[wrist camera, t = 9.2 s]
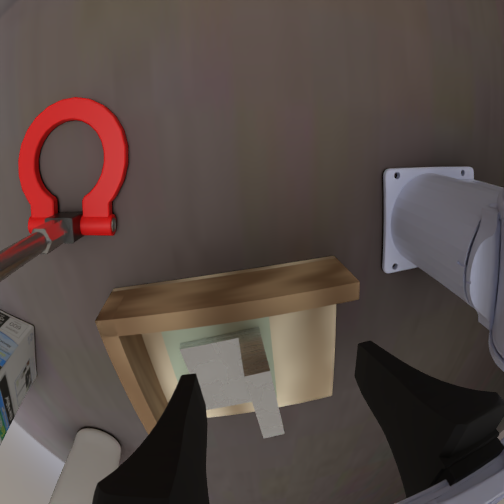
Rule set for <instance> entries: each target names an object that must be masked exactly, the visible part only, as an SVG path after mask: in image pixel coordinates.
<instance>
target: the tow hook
mask: <svg viewBox="0 0 504 504" xmlns="http://www.w3.org/2000/svg"><path fill="white" fill-rule="evenodd" d="M73 120H78V121H83V122H85V123H87V124H89V125H90V126H91V127H92V128H93V129H94V130H95V131H96V132H97V134H98V136H99V137H100V139H101V142H102V146H103V150H104V165H103V169H102V174H101V176H100V178H99V180H98V182H97V184H96V185H95V187H94V188H93V189H92V190H91V192H90V193H88V194H87V195H86V196H84V198H83V200H82V208H83V212H76V213H58V205H57V199H56V197H55V196H53V195H52V194H51V193H50V192H49V191H48V190H47V189H46V188H45V186H44V184H43V182H42V180H41V177H40V173H39V155H40V150H41V147H42V145H43V143H44V141H45V139H46V138H47V136H48V135H49V134H50V132H51V131H52V130H54V129H55V128H56V127H57V126H58V125H61V124H63V123H65V122H67V121H73ZM18 163H19V178H20V182H21V186H22V190H23V192H24V194H25V196H26V198H27V200H28V202H29V204H30V205H31V216H30V218H29V221H28V230H29V232H30V234H31V235H29V236H27V237H25V238H23V239H21V240H20V241H18V242H16V243H14V244H12V245H10V246H9V247H7V248H5V249H3V250H2V251H0V282H1V281H2V280H4V279H5V278H6V277H8V276H9V275H11V274H12V273H13V272H15V271H16V270H18V269H19V268H20V267H22V266H23V265H25V264H26V263H28V262H29V261H30V260H32V259H33V258H35V257H36V256H38V255H39V254H48V253H50V252H51V251H53V250H54V249H56V248H57V247H59V246H60V245H61V244H63V243H74V242H75V241H77V240H78V239H80V238H81V237H83V236H84V235H108V236H113V235H114V234H115V232H116V217H115V215H114V214H112V201H113V200H114V199H115V197H116V196H117V195H118V193H119V191H120V188H121V186H122V184H123V182H124V180H125V176H126V171H127V167H128V143H127V139H126V135H125V131H124V129H123V127H122V126H121V124H120V122H119V120H118V118H117V117H116V116H115V115H114V114H113V113H112V112H111V111H110V110H109V109H108V108H107V107H106V106H104V105H102V104H100V103H97V102H95V101H93V100H91V99H86V98H78V97H74V98H69V99H63V100H60V101H58V102H56V103H54V104H52V105H50V106H48V107H47V108H46V109H45V110H44V111H43V112H41V113H40V114H39V115H38V116H37V117H36V118H35V120H34V121H33V123H32V124H31V125H30V127H29V128H28V130H27V132H26V134H25V137H24V139H23V142H22V144H21V149H20V154H19V160H18Z"/></svg>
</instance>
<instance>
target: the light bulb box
mask: <svg viewBox="0 0 504 504" xmlns="http://www.w3.org/2000/svg"><path fill="white" fill-rule="evenodd" d="M36 377H37V372H36V360H35V342H34V326H32V325H30V324H28V323H26V322H24V321H22V320H19V319H17V318H15V317H13V316H11V315H9V314H7V313H5V312H3V311H1V310H0V445H1V442H2V440H3V438H4V436H5V434H6V432H7V430H8V428H9V426H10V424H11V422H12V420H13V419H14V417H15V415H16V413H17V411H18V409H19V407H20V405H21V403H22V401H23V399H24V398H25V396H26V394H27V392H28V390H29V389H30V387H31V385H32V384H33V382H34V380H35V378H36Z"/></svg>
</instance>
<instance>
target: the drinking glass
mask: <svg viewBox="0 0 504 504" xmlns="http://www.w3.org/2000/svg"><path fill="white" fill-rule="evenodd" d="M120 456H121V447H120V444H119V443H118V441H117V440H116V439H115V438H114V437H112V436H111V435H109V434H107V433H106V432H103V431H101V430H97V429H93V428H85V429H81V430H80V431H78V432H77V434H76V436H75V439H74V442H73V445H72V448H71V450H70V453H69V455H68V457H67V460H66V462H65V465H64V467H63V469H62V472H61V474H60V477H59V479H58V481H57V484H56V486H55V489H54V491H53V494H52V497H51V499H50V502H49V504H92V501H93V496H94V491H95V489H96V486H97V483H98V482H99V481H101V480H102V479H104V478H105V477H106V476H108V475H109V474H111V473H112V472H113V471H115V470H116V469H117V468H118V467H119V461H120Z"/></svg>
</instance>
